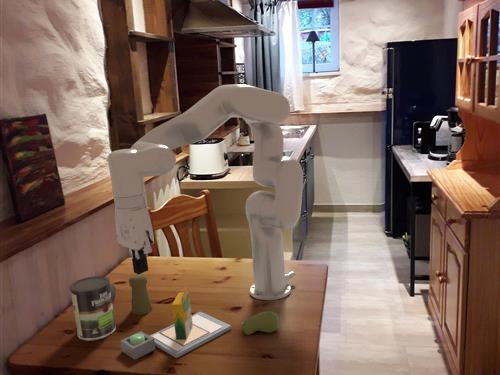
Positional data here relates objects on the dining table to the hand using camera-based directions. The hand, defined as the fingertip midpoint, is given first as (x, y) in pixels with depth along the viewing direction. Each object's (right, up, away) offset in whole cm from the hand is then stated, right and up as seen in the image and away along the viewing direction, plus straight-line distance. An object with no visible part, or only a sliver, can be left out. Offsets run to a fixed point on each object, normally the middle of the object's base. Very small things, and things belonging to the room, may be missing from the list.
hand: (141, 271), depth 126 cm
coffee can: (-15, -19, +13) cm, 27 cm away
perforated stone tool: (-17, -16, +27) cm, 35 cm away
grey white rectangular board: (+11, -18, +7) cm, 22 cm away
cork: (-5, -15, +24) cm, 29 cm away
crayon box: (+10, -17, +6) cm, 21 cm away
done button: (-1, -20, +2) cm, 20 cm away
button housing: (-1, -20, +2) cm, 20 cm away
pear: (+30, -17, +7) cm, 35 cm away
